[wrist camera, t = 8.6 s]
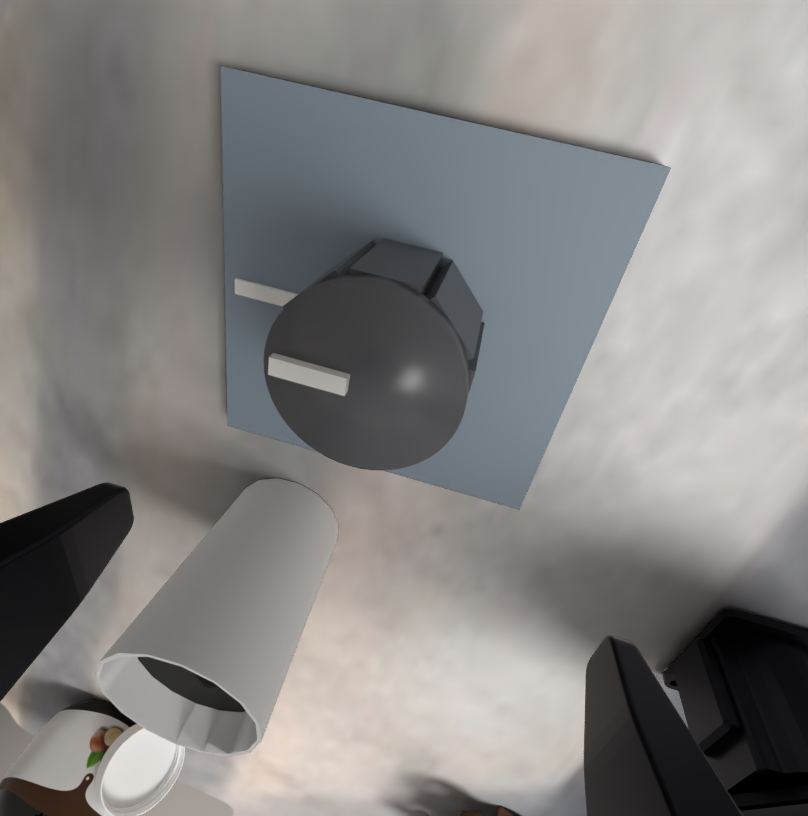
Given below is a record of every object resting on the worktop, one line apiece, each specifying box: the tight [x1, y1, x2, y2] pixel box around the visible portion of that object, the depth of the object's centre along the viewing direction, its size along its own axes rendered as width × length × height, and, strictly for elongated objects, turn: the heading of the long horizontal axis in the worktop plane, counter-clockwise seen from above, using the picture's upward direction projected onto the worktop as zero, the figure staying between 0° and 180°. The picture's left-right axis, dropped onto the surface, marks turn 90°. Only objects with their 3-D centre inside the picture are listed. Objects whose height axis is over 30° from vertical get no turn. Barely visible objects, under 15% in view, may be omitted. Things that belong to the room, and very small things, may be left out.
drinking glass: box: [96, 478, 338, 756], centre depth 22 cm, size 7×7×10 cm
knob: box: [263, 238, 485, 470], centre depth 16 cm, size 6×6×5 cm
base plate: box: [220, 66, 671, 510], centre depth 17 cm, size 14×14×4 cm
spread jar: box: [0, 700, 185, 816], centre depth 40 cm, size 12×11×12 cm
